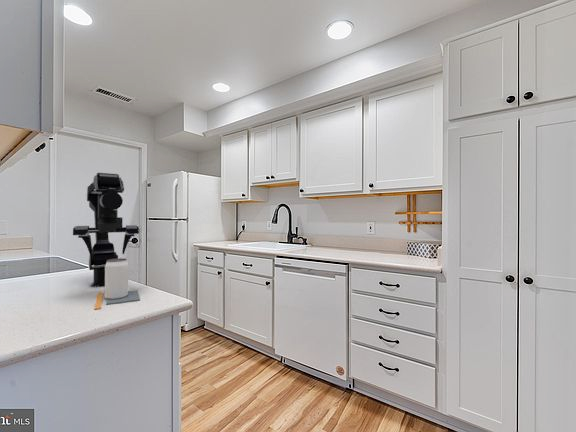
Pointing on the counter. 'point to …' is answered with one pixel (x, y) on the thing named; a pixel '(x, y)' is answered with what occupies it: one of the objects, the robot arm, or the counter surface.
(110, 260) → the can
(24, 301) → the counter surface
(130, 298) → the mat
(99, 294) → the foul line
